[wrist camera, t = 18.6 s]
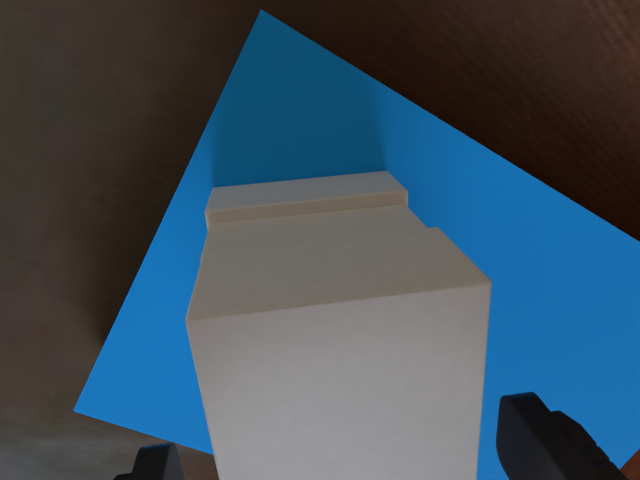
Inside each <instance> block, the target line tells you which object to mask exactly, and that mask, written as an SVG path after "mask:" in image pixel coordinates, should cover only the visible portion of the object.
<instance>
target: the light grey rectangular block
mask: <svg viewBox="0 0 640 480" xmlns="http://www.w3.org/2000/svg"><path fill="white" fill-rule="evenodd" d="M205 218H206V224H207V230H208V234H207V237H206V241H205V244H204V248H203V251H202V255H201V258H200V263H201V260H202V257H203V254H205V253H212V252H221V251H230V250H239V249H247V248H256V247H265V246H274V245H283V244H291V243H300V242H309V241H318V240H327V239H335V238H344V237H353V236H362V235H371V234H379V233H388V232H397V231H406V230H415V229H423V228H427V227H426V226H425V225H424V224H423V223H422V222H421V220H420V219H419V218H418V217H417V216H416V215H415V214H414V213H413V212H412V211H411V210H410V209H409V208H408V191H407V189H406V188H405V187H403V186H402V185H401V184H400V183H399V182H398V181H397V180H396V179H395V178H394V177H393V176H392V175H391V174H390V173H389V172H388V171H379V172H368V173H358V174H348V175H338V176H328V177H317V178H307V179H297V180H287V181H277V182H266V183H256V184H246V185H236V186H226V187H215V188H213V189H212V192H211V195H210V198H209V201H208V203H207V206H206V209H205Z"/></svg>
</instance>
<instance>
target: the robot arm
mask: <svg viewBox="0 0 640 480" xmlns="http://www.w3.org/2000/svg"><path fill="white" fill-rule="evenodd" d="M496 449H497V454H498V458H499V461H500V463H501V466H502V468H503V470H504V471H505V473H506V475H507V477H508V478H509V480H628V479H627V478H626V477H625V476H624V475H623V473H622V472H621V471H620V470H619V469H618V468H617V466H616V465H615V464H614V463H613V462H610V460H609V457H608V456H607V455H606V454H605V452H604V451H603V450H602V449H601V448H600V446H599V447H598V446H597V444H596V442H595V441H594V439H593V438H592V437H591V436H590V435H589V434H588V432H587V431H586V430H585V429H584V428H583V427H582V425H581V424H579V423H578V422H576V421H575V420H573V419H572V418H570V417H569V416H567V415H566V414H564V413H563V412H561V411H560V410H558V411H550V410H549V409H548V408H547V406H546V405H545V404H544V403H543V401H542V400H541V399H540V398H539V397H538V395H537V394H535V393H534V392H525V393H518V394H511V395H504V396H502V397H501V398H500V402H499V412H498V423H497V433H496ZM114 480H185V479H184V475H183V471H182V467H181V463H180V459H179V455H178V452H177V448H176V445H175V443H166V444H159V445H152V446H146V447H141V448H140V449H139V451H138V454H137V457H136V460H135V464H134V467H133V470H132V473H128V474H121V475H117V476H116V477H115V478H114Z"/></svg>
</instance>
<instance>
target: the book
mask: <svg viewBox="0 0 640 480" xmlns="http://www.w3.org/2000/svg"><path fill="white" fill-rule="evenodd" d="M379 171H388V172H389V173H390V174H391V175H392V176H393V177H394V178H395V179H396V180H397V181H398V182H399V183H400V184H401V185H402V186H403V187H405V188H406V189H407V191H408V208H409V209H410V210H411V211H412V212H413V213H414V214H415V215H416V216H417V217H418V218H419V219H420V220H421V222H422V223H423V224H424V225H425V226H426V227H427V228H432V227H438V228H439V229H440V230H441V231H442V232H443V233H444V234H445V235H446V236H447V237H448V238H449V239H450V240H451V241H452V242H453V243H454V244H455V245H456V246H457V247H458V248H459V249H460V250H461V251H462V252H463V253H464V254H465V255H466V256H467V257H468V258H469V259H470V260H471V261H472V262H473V263H474V264H475V265H476V266H477V267H478V268H479V269H480V270H481V271H482V272H483V273H484V274H485V275H486V276H487V277H488V278H489V279H490V280H491V283H492V285H491V298H490V311H489V324H488V337H487V350H486V363H485V376H484V389H483V402H482V415H481V428H480V441H479V454H478V467H477V480H509V478H508V477H507V475H506V473H505V471H504V470H503V468H502V466H501V463H500V461H499V458H498V454H497V449H496V433H497V423H498V412H499V402H500V398H501V397H502V396H504V395H511V394H518V393H525V392H534V393H535V394H537V395H538V397H539V398H540V399H541V400H542V401H543V403H544V404H545V405H546V406H547V408H548V409H549V410H550V411H558V410H560V411H561V412H563V413H564V414H566V415H567V416H569V417H570V418H572V419H573V420H575V421H576V422H578V423H579V424H581V425H582V427H583V428H584V429H585V430H586V431H587V432H588V434H589V435H590V436H591V437H592V438H593V439H594V441H595V442H596V444H597V446H598V447H599V446H600V448H601V449H602V450H603V451H604V452H605V454H606V455H607V456H608V457H609V460H610V462H613V463H614V464H615V465H616V466H617V468H618V469H620V468H621V467H622V466H623V465H624V464H625V463H626V462H627V461H628V460H629V459H630V458H631V457H632V456H633V455H634V453H635V452H636V451H637V450H638V449H639V448H640V242H639V241H637V240H636V239H634V238H632V237H631V236H629V235H628V234H626V233H624V232H623V231H621V230H619V229H618V228H616V227H615V226H613V225H611V224H610V223H608V222H606V221H605V220H603V219H602V218H600V217H598V216H597V215H595V214H593V213H592V212H590V211H589V210H587V209H585V208H584V207H582V206H580V205H579V204H577V203H576V202H574V201H572V200H571V199H569V198H567V197H566V196H564V195H562V194H561V193H559V192H558V191H556V190H554V189H553V188H551V187H549V186H548V185H546V184H545V183H543V182H541V181H540V180H538V179H536V178H535V177H533V176H532V175H530V174H528V173H527V172H525V171H523V170H522V169H520V168H519V167H517V166H515V165H514V164H512V163H510V162H509V161H507V160H506V159H504V158H502V157H501V156H499V155H497V154H496V153H494V152H493V151H491V150H489V149H488V148H486V147H484V146H483V145H481V144H479V143H478V142H476V141H475V140H473V139H471V138H470V137H468V136H466V135H465V134H463V133H462V132H460V131H458V130H457V129H455V128H453V127H452V126H450V125H449V124H447V123H445V122H444V121H442V120H440V119H439V118H437V117H436V116H434V115H432V114H431V113H429V112H427V111H426V110H424V109H423V108H421V107H419V106H418V105H416V104H414V103H413V102H411V101H410V100H408V99H406V98H405V97H403V96H401V95H400V94H398V93H396V92H395V91H393V90H392V89H390V88H388V87H387V86H385V85H383V84H382V83H380V82H379V81H377V80H375V79H374V78H372V77H370V76H369V75H367V74H366V73H364V72H362V71H361V70H359V69H357V68H356V67H354V66H353V65H351V64H349V63H348V62H346V61H344V60H343V59H341V58H340V57H338V56H336V55H335V54H333V53H331V52H330V51H328V50H327V49H325V48H323V47H322V46H320V45H318V44H317V43H315V42H314V41H312V40H310V39H309V38H307V37H305V36H304V35H302V34H300V33H299V32H297V31H296V30H294V29H292V28H291V27H289V26H287V25H286V24H284V23H283V22H281V21H279V20H278V19H276V18H274V17H273V16H271V15H270V14H268V13H266V12H265V11H263V10H260V13H259V15H258V17H257V19H256V21H255V23H254V25H253V27H252V30H251V32H250V34H249V36H248V38H247V40H246V42H245V45H244V47H243V49H242V51H241V53H240V55H239V57H238V60H237V62H236V64H235V66H234V68H233V70H232V72H231V74H230V77H229V79H228V81H227V83H226V85H225V87H224V89H223V92H222V94H221V96H220V98H219V100H218V102H217V104H216V107H215V109H214V111H213V113H212V115H211V117H210V119H209V121H208V124H207V126H206V128H205V130H204V132H203V134H202V136H201V139H200V141H199V143H198V145H197V147H196V149H195V151H194V154H193V156H192V158H191V160H190V162H189V164H188V166H187V168H186V171H185V173H184V175H183V177H182V179H181V181H180V183H179V186H178V188H177V190H176V192H175V194H174V196H173V198H172V201H171V203H170V205H169V207H168V209H167V211H166V213H165V216H164V218H163V220H162V222H161V224H160V226H159V228H158V230H157V233H156V235H155V237H154V239H153V241H152V243H151V245H150V248H149V250H148V252H147V254H146V256H145V258H144V260H143V263H142V265H141V267H140V269H139V271H138V273H137V275H136V277H135V280H134V282H133V284H132V286H131V288H130V290H129V292H128V295H127V297H126V299H125V301H124V303H123V305H122V307H121V310H120V312H119V314H118V316H117V318H116V320H115V322H114V324H113V327H112V329H111V331H110V333H109V335H108V337H107V339H106V342H105V344H104V346H103V348H102V350H101V352H100V354H99V357H98V359H97V361H96V363H95V365H94V367H93V369H92V371H91V374H90V376H89V378H88V380H87V382H86V384H85V386H84V389H83V391H82V393H81V395H80V397H79V399H78V401H77V404H76V406H75V408H74V410H73V411H74V412H78V413H81V414H84V415H87V416H90V417H94V418H97V419H100V420H103V421H107V422H110V423H113V424H116V425H120V426H123V427H126V428H129V429H132V430H136V431H139V432H142V433H145V434H149V435H152V436H155V437H158V438H161V439H165V440H168V441H171V442H174V443H178V444H181V445H184V446H187V447H191V448H194V449H197V450H200V451H203V452H207V453H210V454H213V455H214V453H213V448H212V444H211V439H210V434H209V430H208V425H207V420H206V416H205V411H204V406H203V402H202V397H201V393H200V388H199V383H198V379H197V374H196V369H195V365H194V360H193V355H192V351H191V346H190V341H189V337H188V332H187V328H186V323H185V318H186V315H187V311H188V307H189V304H190V300H191V297H192V293H193V289H194V286H195V282H196V278H197V275H198V271H199V268H200V264H201V263H200V258H201V255H202V251H203V248H204V244H205V241H206V237H207V234H208V230H207V224H206V218H205V209H206V206H207V203H208V201H209V198H210V195H211V192H212V189H213V188H215V187H226V186H236V185H246V184H256V183H266V182H277V181H287V180H297V179H307V178H317V177H328V176H338V175H348V174H358V173H368V172H379Z"/></svg>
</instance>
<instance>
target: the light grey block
mask: <svg viewBox="0 0 640 480" xmlns="http://www.w3.org/2000/svg"><path fill="white" fill-rule="evenodd" d="M491 285H492V283H491V280H490V279H489V278H488V277H487V276H486V275H485V274H484V273H483V272H482V271H481V270H480V269H479V268H478V267H477V266H476V265H475V264H474V263H473V262H472V261H471V260H470V259H469V258H468V257H467V256H466V255H465V254H464V253H463V252H462V251H461V250H460V249H459V248H458V247H457V246H456V245H455V244H454V243H453V242H452V241H451V240H450V239H449V238H448V237H447V236H446V235H445V234H444V233H443V232H442V231H441V230H440V229H439V228H438V227H432V228H423V229H415V230H406V231H397V232H388V233H379V234H371V235H362V236H353V237H344V238H335V239H327V240H318V241H309V242H300V243H291V244H283V245H274V246H265V247H256V248H247V249H239V250H230V251H221V252H212V253H205V254H203V257H202V260H201V264H200V268H199V271H198V275H197V278H196V282H195V286H194V289H193V293H192V297H191V300H190V304H189V307H188V311H187V315H186V318H185V323H186V328H187V332H188V337H189V341H190V346H191V351H192V355H193V360H194V365H195V369H196V374H197V379H198V383H199V388H200V393H201V397H202V402H203V406H204V411H205V416H206V420H207V425H208V430H209V434H210V439H211V444H212V448H213V453H214V458H215V462H216V467H217V472H218V476H219V480H477V467H478V454H479V441H480V428H481V415H482V402H483V389H484V376H485V363H486V350H487V337H488V324H489V311H490V298H491Z"/></svg>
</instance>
